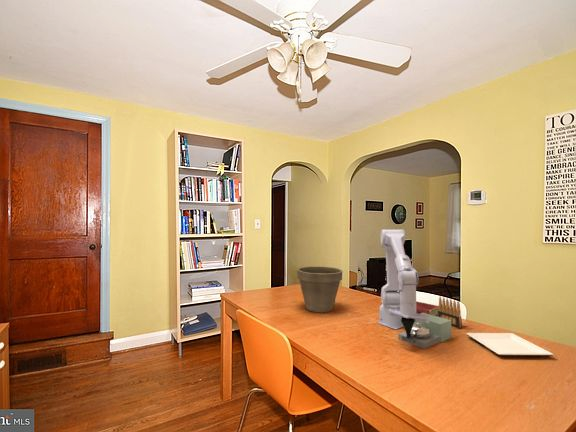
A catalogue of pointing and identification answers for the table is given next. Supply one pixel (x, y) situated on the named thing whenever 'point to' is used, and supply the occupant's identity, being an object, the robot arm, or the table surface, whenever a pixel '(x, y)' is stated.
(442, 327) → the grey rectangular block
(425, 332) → the grey t-handle
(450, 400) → the table surface
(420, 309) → the hardcover book
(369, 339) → the table surface
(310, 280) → the plant pot
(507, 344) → the plate
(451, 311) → the ammunition clip
